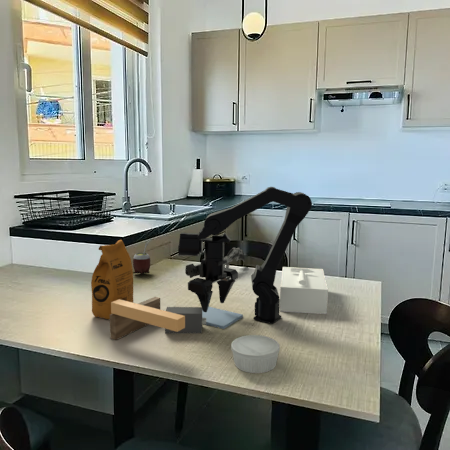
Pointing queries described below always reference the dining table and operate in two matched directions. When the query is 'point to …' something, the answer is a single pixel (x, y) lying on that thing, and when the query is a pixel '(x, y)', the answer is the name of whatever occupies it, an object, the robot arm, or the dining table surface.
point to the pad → (220, 317)
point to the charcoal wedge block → (188, 319)
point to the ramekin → (255, 353)
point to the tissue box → (303, 290)
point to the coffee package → (111, 279)
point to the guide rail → (129, 321)
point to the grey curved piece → (234, 256)
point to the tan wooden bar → (148, 315)
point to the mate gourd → (141, 262)
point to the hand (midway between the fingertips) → (213, 307)
